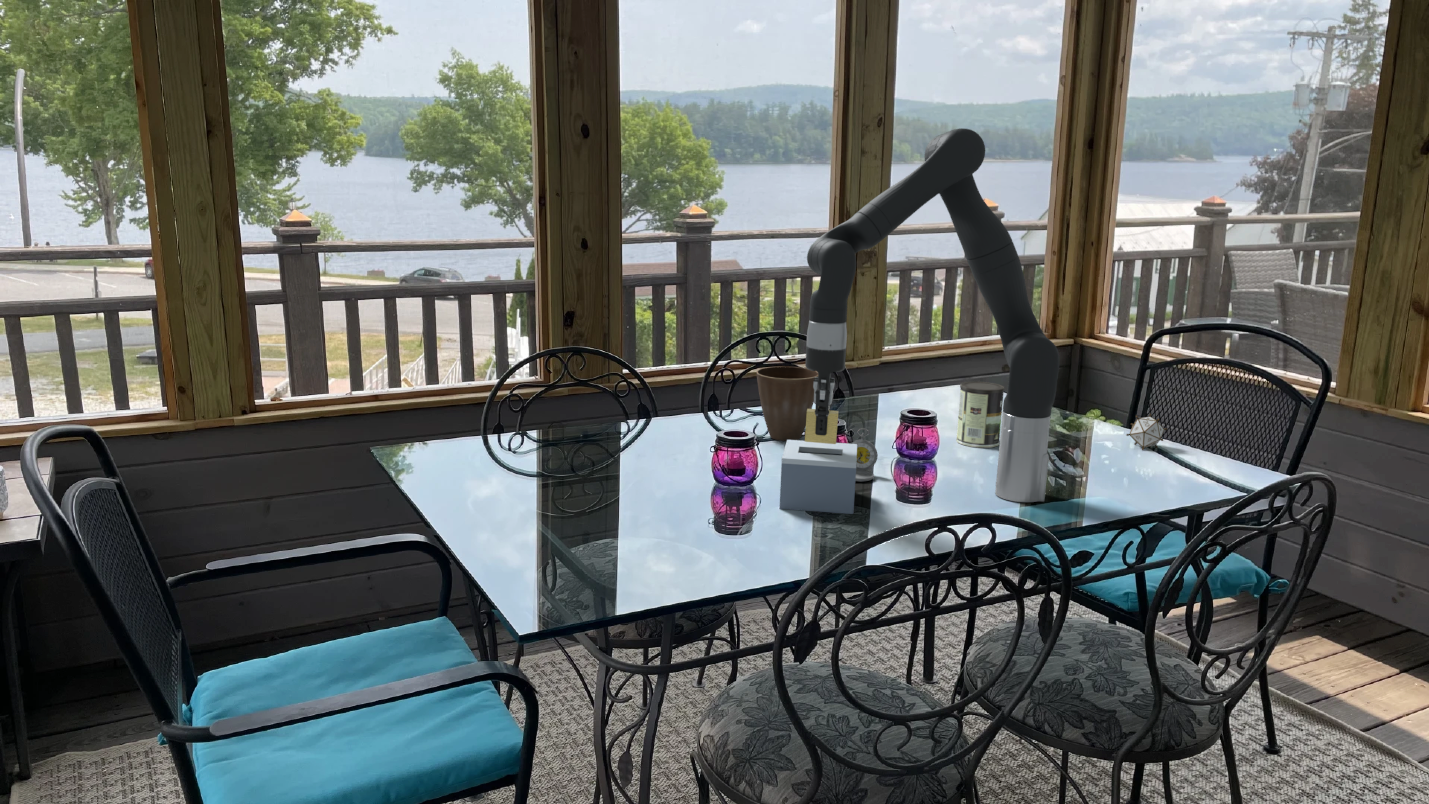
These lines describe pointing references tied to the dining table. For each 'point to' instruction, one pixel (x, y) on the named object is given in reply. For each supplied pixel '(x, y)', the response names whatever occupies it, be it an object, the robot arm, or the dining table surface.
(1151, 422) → the game die
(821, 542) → the dining table surface
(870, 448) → the pocket watch
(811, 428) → the plate
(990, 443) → the coffee can
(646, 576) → the dining table surface
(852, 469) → the coin box
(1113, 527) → the dining table surface
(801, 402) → the plant pot
